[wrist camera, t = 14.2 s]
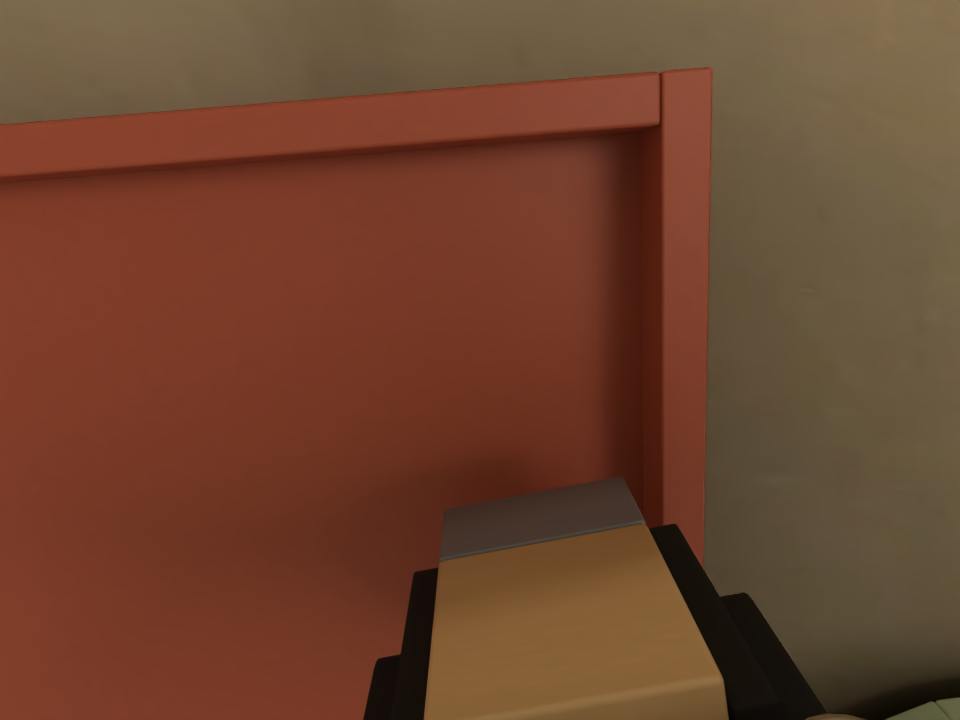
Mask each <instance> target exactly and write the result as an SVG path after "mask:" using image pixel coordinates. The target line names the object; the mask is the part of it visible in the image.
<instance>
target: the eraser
mask: <svg viewBox="0 0 960 720" xmlns="http://www.w3.org/2000/svg"><path fill="white" fill-rule="evenodd" d="M439 563H440V564H439V569H438V579H437V589H436V599H435V609H434V620H433V630H432V640H431V650H430V660H429V670H428V681H427V691H426V701H425V711H424V720H729V717H728V709H727V702H726V694H725V686H724V679H723V677H722V675H721V673H720V671H719V669H718V667H717V665H716V663H715V661H714V659H713V657H712V655H711V653H710V651H709V649H708V647H707V645H706V643H705V641H704V639H703V637H702V635H701V633H700V631H699V629H698V627H697V625H696V623H695V621H694V619H693V617H692V615H691V613H690V611H689V609H688V607H687V605H686V603H685V601H684V599H683V597H682V595H681V593H680V591H679V589H678V587H677V585H676V583H675V581H674V579H673V577H672V575H671V573H670V571H669V569H668V567H667V565H666V563H665V561H664V559H663V557H662V555H661V553H660V551H659V549H658V547H657V545H656V543H655V541H654V539H653V537H652V535H651V533H650V531H649V529H648V527H647V526H646V522H645V520H644V518H643V516H642V514H641V512H640V510H639V508H638V506H637V504H636V502H635V500H634V498H633V496H632V494H631V492H630V490H629V488H628V486H627V484H626V482H625V480H624V478H623V477H621V476H619V477H613V478H608V479H603V480H598V481H592V482H587V483H582V484H577V485H571V486H566V487H561V488H555V489H550V490H545V491H540V492H534V493H529V494H524V495H519V496H513V497H508V498H503V499H498V500H492V501H487V502H482V503H477V504H471V505H466V506H461V507H456V508H450V509H446V510H445V511H444V514H443V524H442V534H441V544H440V554H439Z"/></svg>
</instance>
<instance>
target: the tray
mask: <svg viewBox="0 0 960 720" xmlns="http://www.w3.org/2000/svg"><path fill="white" fill-rule="evenodd" d="M711 124H712V68H710V67H705V68H693V69H680V70H668V71H663V72H661V73H660V74H659V73H657V72H646V73H633V74H621V75H609V76H596V77H584V78H572V79H559V80H547V81H535V82H522V83H510V84H497V85H485V86H473V87H460V88H448V89H436V90H423V91H411V92H398V93H386V94H374V95H361V96H349V97H337V98H324V99H312V100H299V101H287V102H275V103H262V104H250V105H238V106H225V107H213V108H200V109H188V110H176V111H163V112H151V113H139V114H126V115H114V116H102V117H89V118H77V119H64V120H52V121H40V122H27V123H15V124H3V125H0V720H363V718H364V713H365V708H366V704H367V699H368V694H369V689H370V685H371V680H372V675H373V670H374V667H375V664H376V661H377V660H378V659H379V658H382V657H388V656H393V655H399V654H401V648H402V642H403V636H404V629H405V623H406V617H407V611H408V604H409V598H410V592H411V586H412V580H413V575H414V572H416V571H421V570H427V569H432V568H438V567H439V564H440V563H439V554H440V544H441V534H442V524H443V514H444V511H445V510H446V509H450V508H456V507H461V506H466V505H471V504H477V503H482V502H487V501H492V500H498V499H503V498H508V497H513V496H519V495H524V494H529V493H534V492H540V491H545V490H550V489H555V488H561V487H566V486H571V485H577V484H582V483H587V482H592V481H598V480H603V479H608V478H613V477H619V476H621V477H623V478H624V480H625V482H626V484H627V486H628V488H629V490H630V492H631V494H632V496H633V498H634V500H635V502H636V504H637V506H638V508H639V510H640V512H641V514H642V516H643V518H644V520H645V522H646V526H647V527H648V528H653V527H658V526H664V525H669V524H677V526H678V527H679V529H680V530H681V532H682V534H683V535H684V537H685V539H686V541H687V542H688V544H689V546H690V547H691V549H692V551H693V553H694V554H695V556H696V558H697V559H698V561H699V563H700V564H701V566H702V568H703V556H704V502H705V448H706V394H707V340H708V286H709V232H710V178H711Z"/></svg>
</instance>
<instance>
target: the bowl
mask: <svg viewBox="0 0 960 720" xmlns="http://www.w3.org/2000/svg"><path fill="white" fill-rule="evenodd" d="M885 720H960V697H957V698H949V699H942V700H937V701H936V702H935V703H934V702H933V701H931V702H928V703H925V704H923V705H920V706H918V707H915V708H913V709H910V710H908V711H905V712H902V713H900V714H897V715H895V716H892V717H890V718H887V719H885Z"/></svg>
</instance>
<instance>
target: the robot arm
mask: <svg viewBox="0 0 960 720" xmlns="http://www.w3.org/2000/svg"><path fill="white" fill-rule="evenodd" d="M648 529H649V531H650V533H651V535H652V537H653V539H654V541H655V543H656V545H657V547H658V549H659V551H660V553H661V555H662V557H663V559H664V561H665V563H666V565H667V567H668V569H669V571H670V573H671V575H672V577H673V579H674V581H675V583H676V585H677V587H678V589H679V591H680V593H681V595H682V597H683V599H684V601H685V603H686V605H687V607H688V609H689V611H690V613H691V615H692V617H693V619H694V621H695V623H696V625H697V627H698V629H699V631H700V633H701V635H702V637H703V639H704V641H705V643H706V645H707V647H708V649H709V651H710V653H711V655H712V657H713V659H714V661H715V663H716V665H717V667H718V669H719V671H720V673H721V675H722V677H723V679H724V686H725V694H726V702H727V709H728V717H729V720H866V719H862V718H858V717H855V716H851V715H847V714H827V712H826V711H825V709H824V708H823V706H822V705H821V703H820V702H819V700H818V699H817V697H816V695H815V694H814V692H813V691H812V689H811V688H810V686H809V685H808V683H807V682H806V680H805V679H804V677H803V676H802V674H801V673H800V671H799V670H798V668H797V667H796V665H795V664H794V662H793V661H792V659H791V658H790V656H789V655H788V653H787V652H786V650H785V649H784V647H783V646H782V644H781V642H780V641H779V639H778V638H777V636H776V635H775V633H774V632H773V630H772V629H771V627H770V626H769V624H768V623H767V621H766V620H765V618H764V617H763V615H762V614H761V612H760V611H759V609H758V608H757V606H756V605H755V603H754V602H753V600H752V599H751V598H750V596H749V595H748V594H746V593H739V594H733V595H728V596H722V597H719V595H718V593H717V592H716V590H715V588H714V587H713V585H712V583H711V582H710V580H709V578H708V576H707V575H706V573H705V571H704V570H703V568H702V566H701V564H700V563H699V561H698V559H697V558H696V556H695V554H694V553H693V551H692V549H691V547H690V546H689V544H688V542H687V541H686V539H685V537H684V535H683V534H682V532H681V530H680V529H679V527H678V526H677V524H669V525H664V526H658V527H653V528H648ZM438 569H439V567H438V568H432V569H427V570H421V571H416V572H414V575H413V580H412V586H411V592H410V598H409V604H408V611H407V617H406V623H405V629H404V636H403V642H402V648H401V654H399V655H393V656H388V657H382V658H379V659H378V660H377V661H376V664H375V667H374V670H373V675H372V680H371V685H370V689H369V694H368V699H367V704H366V708H365V713H364V718H363V720H424V711H425V701H426V691H427V681H428V670H429V660H430V650H431V640H432V630H433V620H434V609H435V599H436V589H437V579H438Z"/></svg>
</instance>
